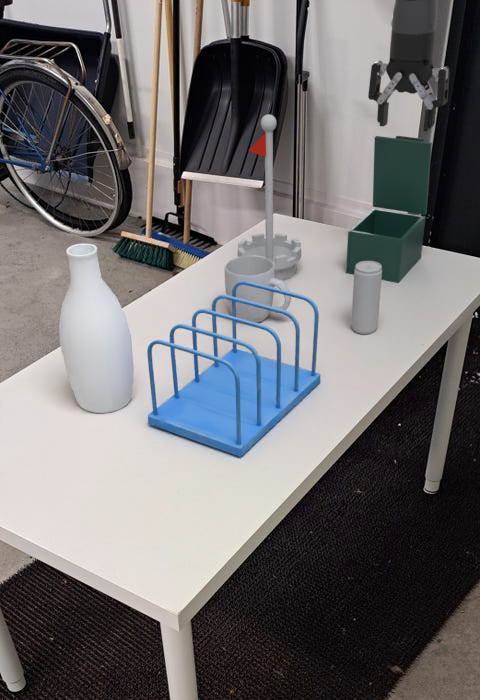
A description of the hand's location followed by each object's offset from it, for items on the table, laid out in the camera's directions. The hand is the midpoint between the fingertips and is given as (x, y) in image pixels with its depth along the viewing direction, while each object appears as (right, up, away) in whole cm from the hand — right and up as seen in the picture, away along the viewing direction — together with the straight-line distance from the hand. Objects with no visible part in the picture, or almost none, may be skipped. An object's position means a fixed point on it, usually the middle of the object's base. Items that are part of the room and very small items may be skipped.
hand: (404, 127), depth 157 cm
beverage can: (-8, -38, -1) cm, 38 cm away
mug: (-27, -34, +3) cm, 44 cm away
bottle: (-53, -53, -17) cm, 77 cm away
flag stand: (-24, -21, +19) cm, 37 cm away
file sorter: (-31, -54, -19) cm, 65 cm away
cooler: (-1, -19, +19) cm, 27 cm away
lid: (+1, -4, +12) cm, 13 cm away
